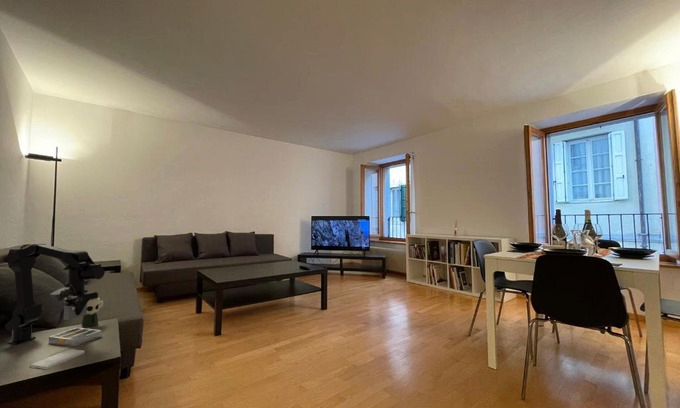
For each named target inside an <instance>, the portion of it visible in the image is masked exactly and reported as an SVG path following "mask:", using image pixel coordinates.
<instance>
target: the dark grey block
mask: <svg viewBox="0 0 680 408" xmlns="http://www.w3.org/2000/svg"><path fill="white" fill-rule="evenodd" d="M84 315H87V304H86V305H85V307H84V309H83V310H82V312H81V314H80V315H77V314H76V305H75V303H73V304H69V305H67V304H65V305H63V320H64V321H70V320H74V319H77V318H80V317H83V316H84Z"/></svg>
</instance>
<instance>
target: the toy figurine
mask: <svg viewBox="0 0 680 408" xmlns="http://www.w3.org/2000/svg"><path fill="white" fill-rule="evenodd" d="M103 307H104V300H101V299H100V297H98V298H95V299H91V300H89V301H88V302H87V315H84V316H82V320H81V327H82V328H87V327H88V328H89V327H92V326H93V324H94V326H96V325H98V324H99V318H98V313H97V312H99V310H100V309H101V308H103Z"/></svg>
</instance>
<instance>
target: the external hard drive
mask: <svg viewBox="0 0 680 408" xmlns="http://www.w3.org/2000/svg"><path fill="white" fill-rule="evenodd" d="M84 354H85V350H82V349H72V348H69V349H66V350H64V351H61V352H58V353H56V354H54V355H51V356H49V357H46V358H43V359H42V360H39V361H36V362H34V363H32V364H29V368H33V369H41V370H50V369H51V368H53V367H55V366H59V365H60V364H63V363H65V362H67V361H70V360H72V359H74V358H76V357H79V356H82V355H84Z"/></svg>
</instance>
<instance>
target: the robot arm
mask: <svg viewBox="0 0 680 408" xmlns="http://www.w3.org/2000/svg"><path fill="white" fill-rule="evenodd" d="M41 256H45V257H50V258H54V259H57V260H60V261H61V262H62V263H64V264H65V265H67V266H65V267H64V268H63V269H62V270H63V271H68V272H67V282H65V283H64V286H63V287H61V288H59V289H57V290H55V291H53V292H50V293H49V295H50V297H51V300H52V301H53V302H54V301H56V302H63V303H64V304H65V305H69V304H73V303H75V305H76V314H77V315H80V314H81V312H82V310H83V309H84V307H85V305H86V304H87V302H88V301H89V300H91V299H95V298H99V293H98V292H97V291H88V289H86V284H88V282H89V281H88V280H90V281H91V280H101V279H103V277H104V275H105V272H106V270H105V269H104V267H103V266H102V263H97V264H96V263H95V262H94V261H93V259H92V258H91V256H90V255H89V253H88V251H85V250H68V249H65V248H64V249H63V248H60V247H57V246H52V245H48V244H47V243H35V244H34V243H33V244H31V245H28V246H26V247H24V248H22V249H19V250H17V251H15V252H11V253H10V254H9V255H7V258H6V261H7V265H8V268H9V269H10V270H11V271H12V272H13V273H14V281H15V292H16V303H17V305H16V306H15V308H14V310H13V311H12V318H10V320H9V321H8V322H7V323H6V324H5V325H4V328H5V330H6V331H11V339H10V340H8V341H6V343H7V344H12V345H13V344H15V345H18V344H21V343H24V342H27V341H29V340H34V339H36V336H34V335H32V334H33V329H32V327H33V325H34V324H37V323H38V322H39V320H40V318H41V316H42V313H43V310H42V306H43V305H42V304H41V303H37V302H36V301H35V296H34V295H35V294H34V286H33V285H34V284H33V275H32V269H33V268H34V266H35V265H36V262H37V261H36V260H37V259H38V258H39V257H41Z"/></svg>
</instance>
